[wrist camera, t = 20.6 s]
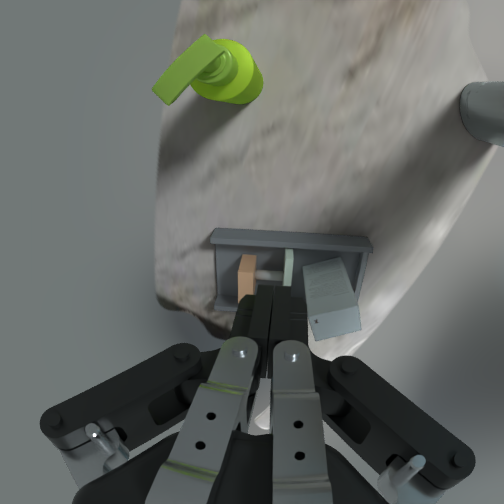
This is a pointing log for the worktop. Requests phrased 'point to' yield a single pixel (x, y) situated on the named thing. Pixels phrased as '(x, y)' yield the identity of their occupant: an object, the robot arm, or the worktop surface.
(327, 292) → the skincare box
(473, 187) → the worktop surface
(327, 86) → the worktop surface
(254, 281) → the pusher
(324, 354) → the worktop surface
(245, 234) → the pusher lane
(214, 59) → the soap dispenser
